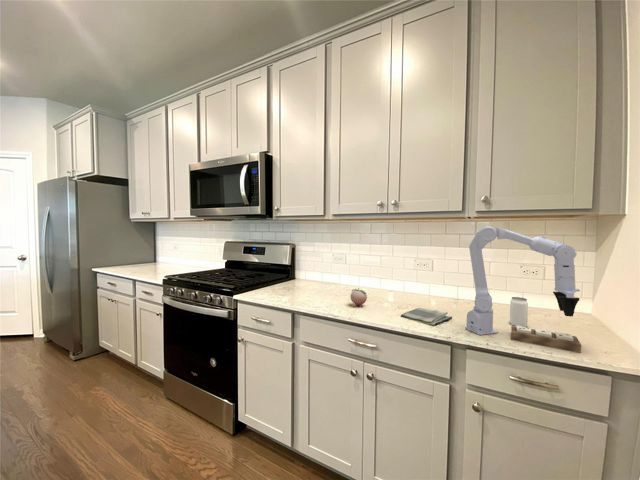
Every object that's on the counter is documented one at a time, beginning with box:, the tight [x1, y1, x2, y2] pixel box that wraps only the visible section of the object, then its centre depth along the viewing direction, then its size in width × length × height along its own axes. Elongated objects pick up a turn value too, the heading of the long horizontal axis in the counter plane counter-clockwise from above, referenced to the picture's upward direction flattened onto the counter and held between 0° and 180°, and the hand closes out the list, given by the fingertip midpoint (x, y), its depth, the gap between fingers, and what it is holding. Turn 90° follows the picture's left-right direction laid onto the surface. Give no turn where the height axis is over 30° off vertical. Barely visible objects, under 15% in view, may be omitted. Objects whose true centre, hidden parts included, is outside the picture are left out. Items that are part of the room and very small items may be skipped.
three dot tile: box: [516, 326, 532, 334], centre depth 110 cm, size 5×5×3 cm
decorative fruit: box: [350, 287, 368, 307], centre depth 154 cm, size 9×8×10 cm
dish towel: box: [400, 307, 453, 327], centre depth 135 cm, size 19×18×3 cm
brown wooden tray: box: [510, 325, 582, 353], centre depth 106 cm, size 20×9×3 cm, turn 55°
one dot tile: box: [535, 328, 552, 338], centre depth 106 cm, size 5×5×3 cm
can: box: [509, 296, 529, 327], centre depth 125 cm, size 6×6×12 cm
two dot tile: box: [554, 331, 574, 341], centre depth 103 cm, size 5×5×3 cm
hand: (566, 313), depth 104 cm, fingers open, 7 cm apart
